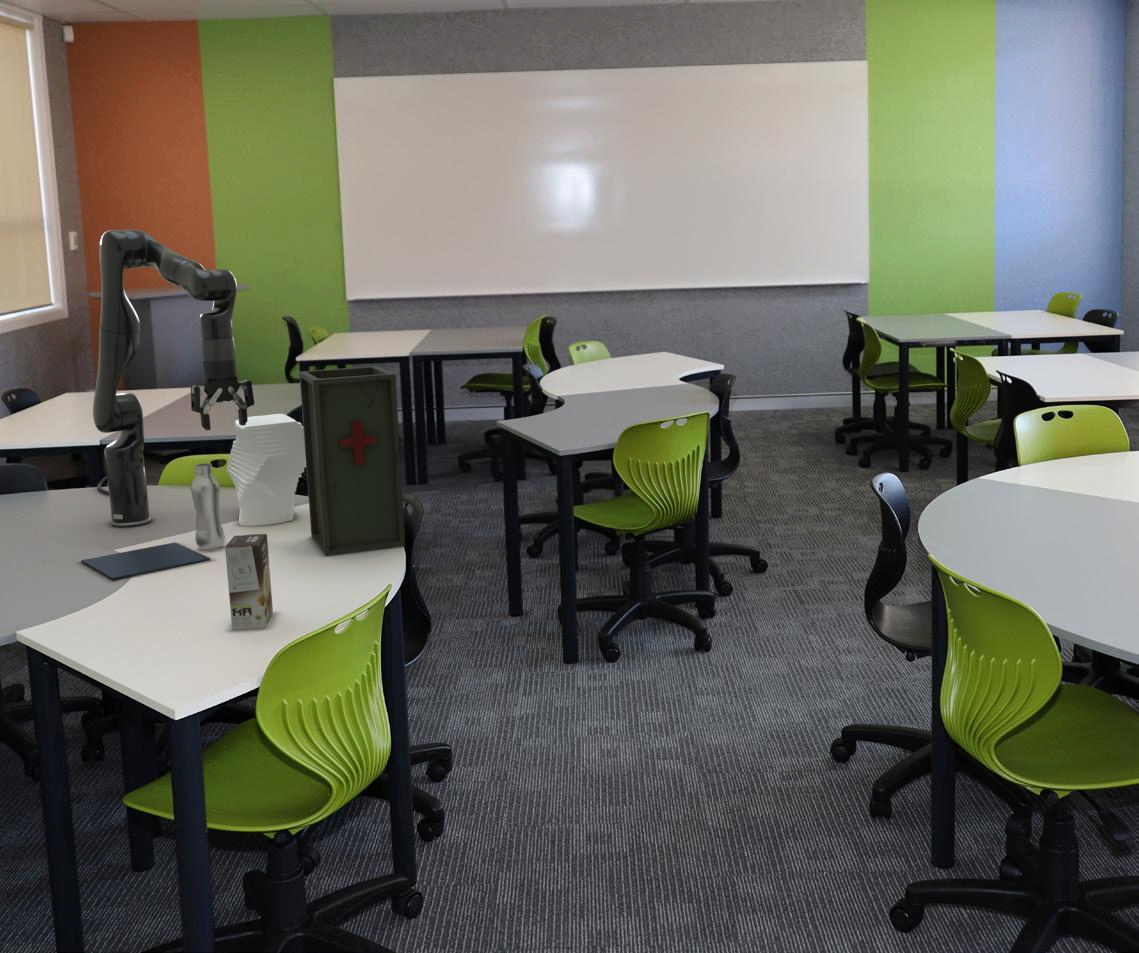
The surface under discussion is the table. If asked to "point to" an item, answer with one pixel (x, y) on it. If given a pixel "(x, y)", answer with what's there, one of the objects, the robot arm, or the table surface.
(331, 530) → the first aid box
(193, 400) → the robot arm
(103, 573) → the rubber mat
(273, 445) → the paper stack
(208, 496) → the silver bottle
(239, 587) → the coffee box
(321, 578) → the table surface
